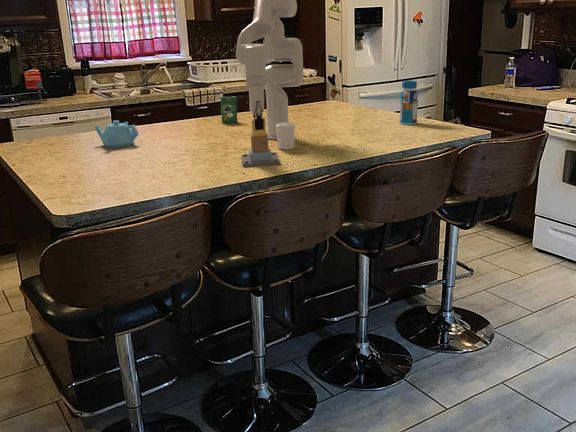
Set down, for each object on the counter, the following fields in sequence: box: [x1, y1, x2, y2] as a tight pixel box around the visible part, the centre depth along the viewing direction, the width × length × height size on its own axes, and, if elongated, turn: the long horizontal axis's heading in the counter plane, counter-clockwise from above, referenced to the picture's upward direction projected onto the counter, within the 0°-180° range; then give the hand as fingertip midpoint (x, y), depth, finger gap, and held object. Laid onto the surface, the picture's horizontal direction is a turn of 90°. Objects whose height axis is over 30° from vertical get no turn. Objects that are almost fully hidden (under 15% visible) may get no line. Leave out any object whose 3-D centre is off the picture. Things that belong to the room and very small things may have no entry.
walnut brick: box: [250, 132, 269, 153], centre depth 229 cm, size 6×6×6 cm
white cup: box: [276, 122, 296, 151], centre depth 250 cm, size 8×8×10 cm
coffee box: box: [220, 95, 238, 124], centre depth 309 cm, size 8×3×13 cm, turn 103°
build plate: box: [240, 147, 281, 168], centre depth 231 cm, size 14×14×4 cm
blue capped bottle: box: [399, 79, 419, 126], centre depth 288 cm, size 8×8×20 cm
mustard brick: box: [250, 116, 267, 137], centre depth 227 cm, size 5×5×6 cm
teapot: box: [94, 120, 139, 149], centre depth 267 cm, size 15×15×11 cm
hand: (258, 127), depth 227 cm, fingers open, 9 cm apart
